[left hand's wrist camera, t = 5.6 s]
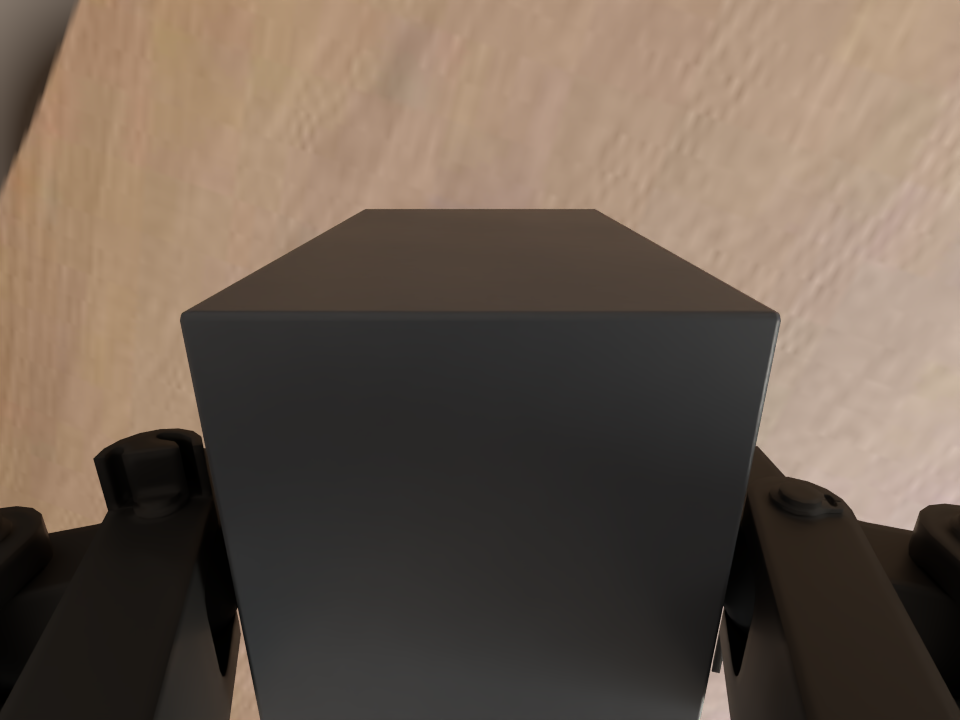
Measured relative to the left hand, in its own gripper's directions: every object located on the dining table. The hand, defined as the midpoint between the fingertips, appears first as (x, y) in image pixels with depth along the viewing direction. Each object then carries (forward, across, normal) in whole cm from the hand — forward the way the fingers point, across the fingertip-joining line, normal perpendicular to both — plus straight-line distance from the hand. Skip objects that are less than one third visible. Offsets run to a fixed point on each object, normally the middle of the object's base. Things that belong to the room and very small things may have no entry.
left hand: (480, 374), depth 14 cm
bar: (+1, 0, -8) cm, 8 cm away
